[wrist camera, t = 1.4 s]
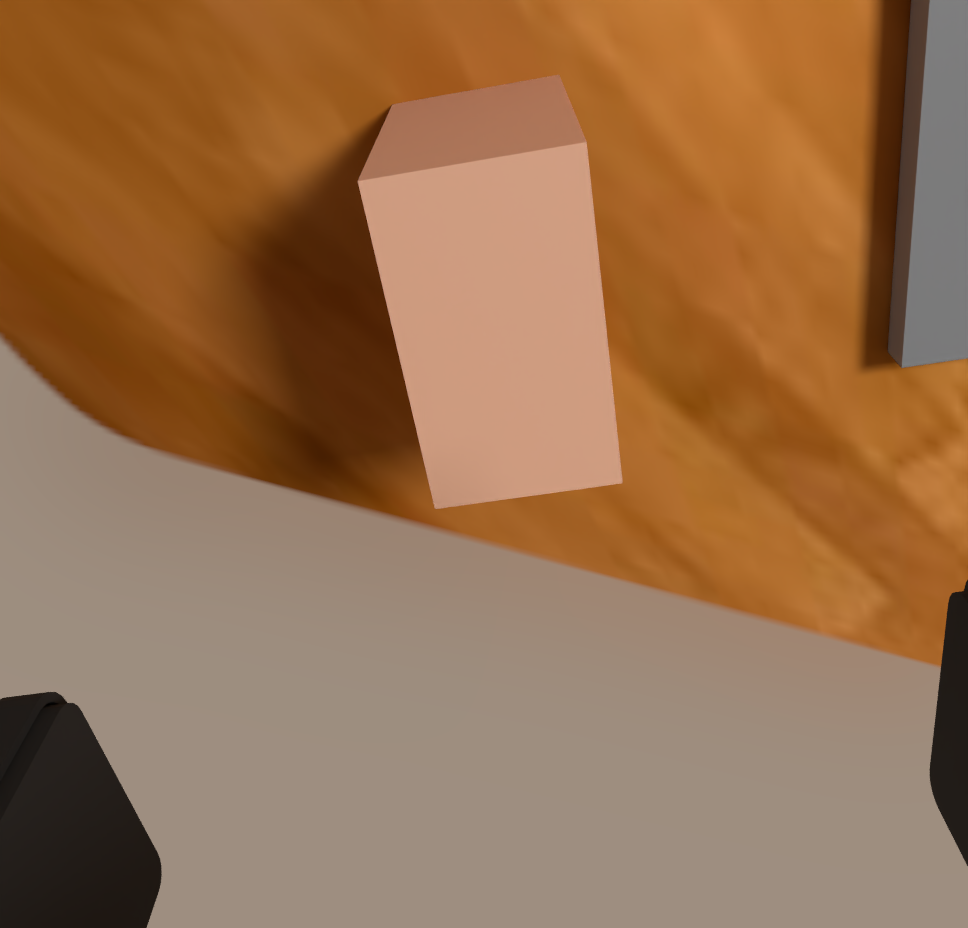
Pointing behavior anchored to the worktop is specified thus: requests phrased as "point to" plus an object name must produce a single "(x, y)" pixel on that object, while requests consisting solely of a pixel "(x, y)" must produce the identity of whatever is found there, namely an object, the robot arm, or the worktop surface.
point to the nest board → (933, 191)
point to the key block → (495, 290)
